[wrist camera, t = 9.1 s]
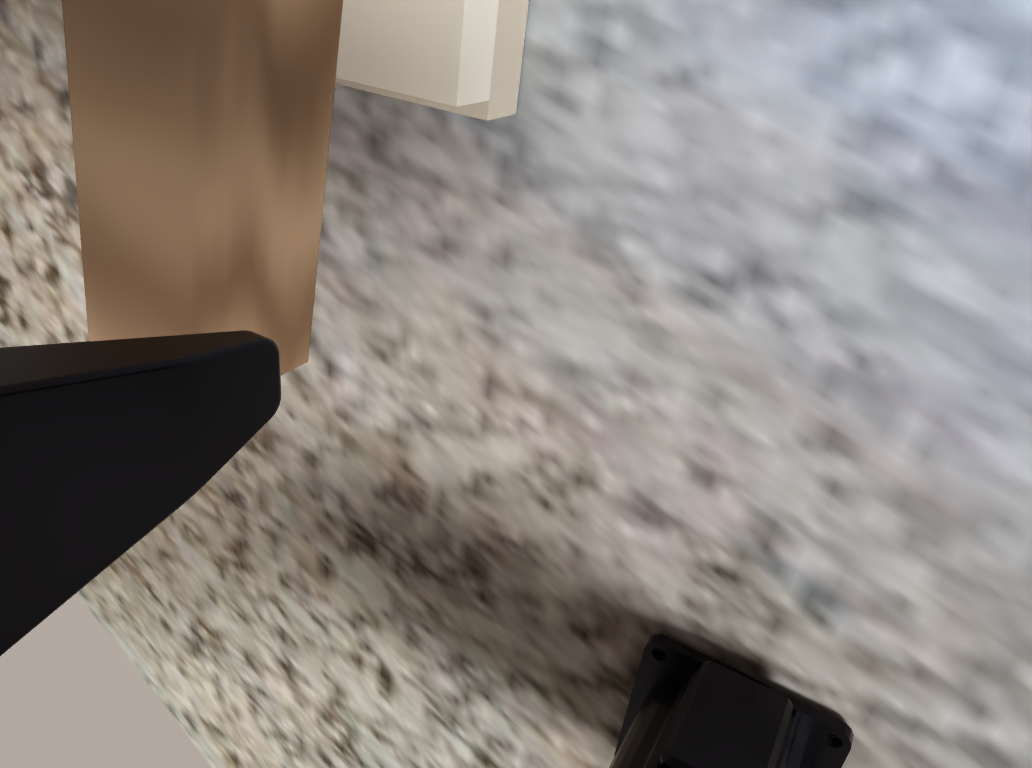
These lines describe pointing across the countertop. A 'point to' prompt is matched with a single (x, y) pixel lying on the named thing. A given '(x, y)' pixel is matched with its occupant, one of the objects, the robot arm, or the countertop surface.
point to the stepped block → (436, 52)
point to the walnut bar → (201, 163)
